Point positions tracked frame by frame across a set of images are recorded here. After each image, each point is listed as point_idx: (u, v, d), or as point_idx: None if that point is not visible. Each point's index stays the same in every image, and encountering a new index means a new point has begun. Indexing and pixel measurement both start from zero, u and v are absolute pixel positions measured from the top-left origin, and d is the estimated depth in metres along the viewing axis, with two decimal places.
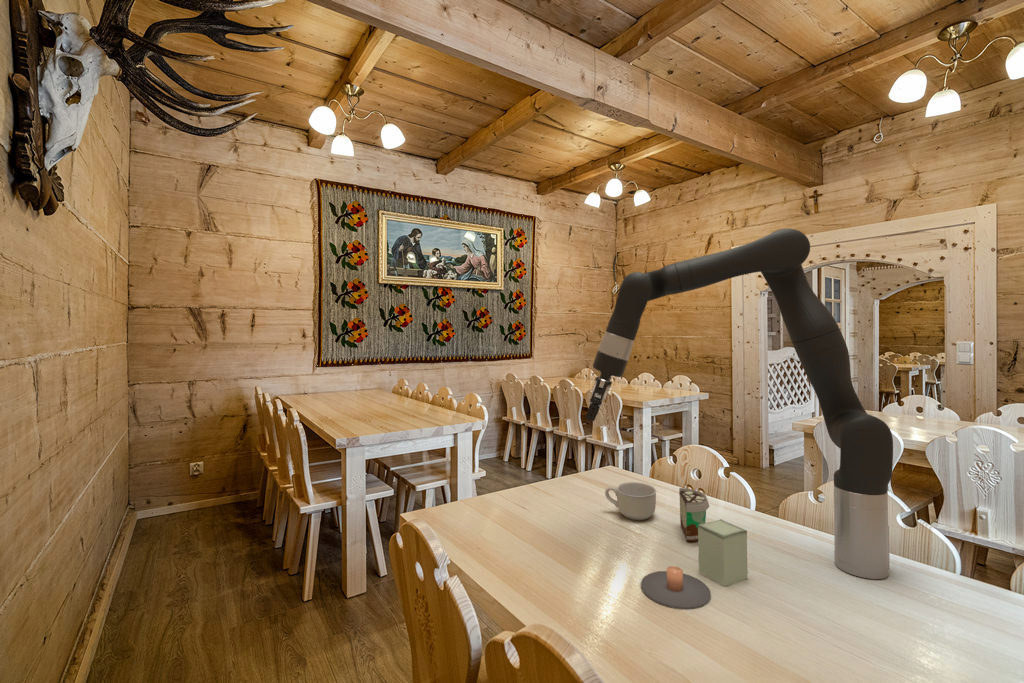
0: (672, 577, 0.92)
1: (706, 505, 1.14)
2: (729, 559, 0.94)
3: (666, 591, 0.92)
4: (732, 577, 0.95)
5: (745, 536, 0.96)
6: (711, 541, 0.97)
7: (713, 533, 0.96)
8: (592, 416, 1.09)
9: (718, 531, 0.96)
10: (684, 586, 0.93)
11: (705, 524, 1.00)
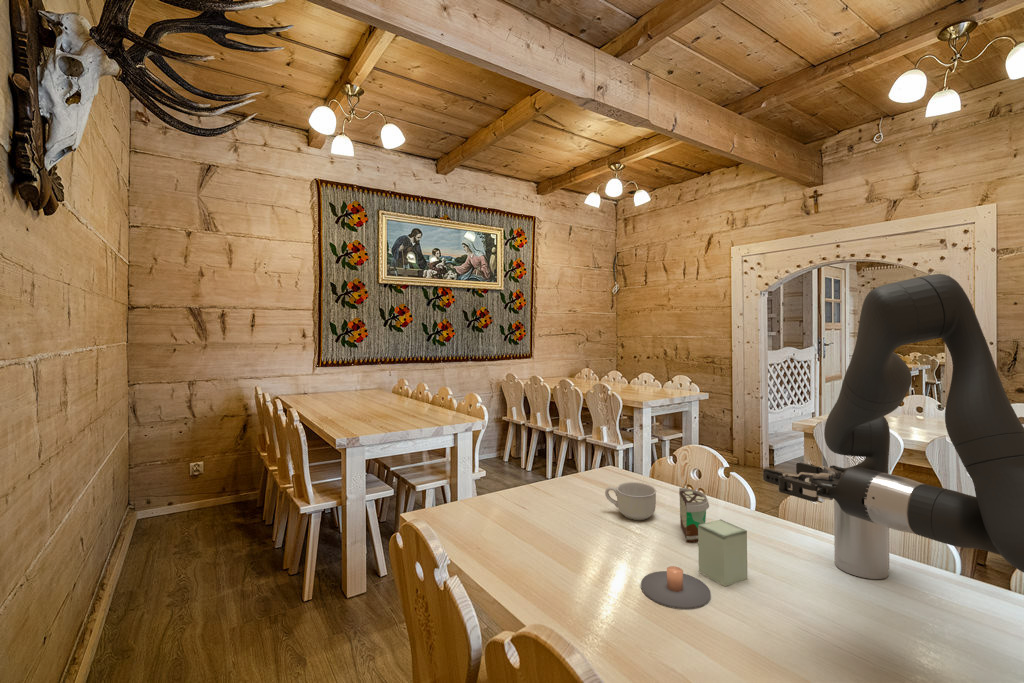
0: (672, 577, 0.92)
1: (706, 505, 1.14)
2: (729, 559, 0.94)
3: (666, 591, 0.92)
4: (732, 577, 0.95)
5: (745, 536, 0.96)
6: (711, 541, 0.97)
7: (713, 533, 0.96)
8: None
9: (718, 531, 0.96)
10: (684, 586, 0.93)
11: (705, 524, 1.00)
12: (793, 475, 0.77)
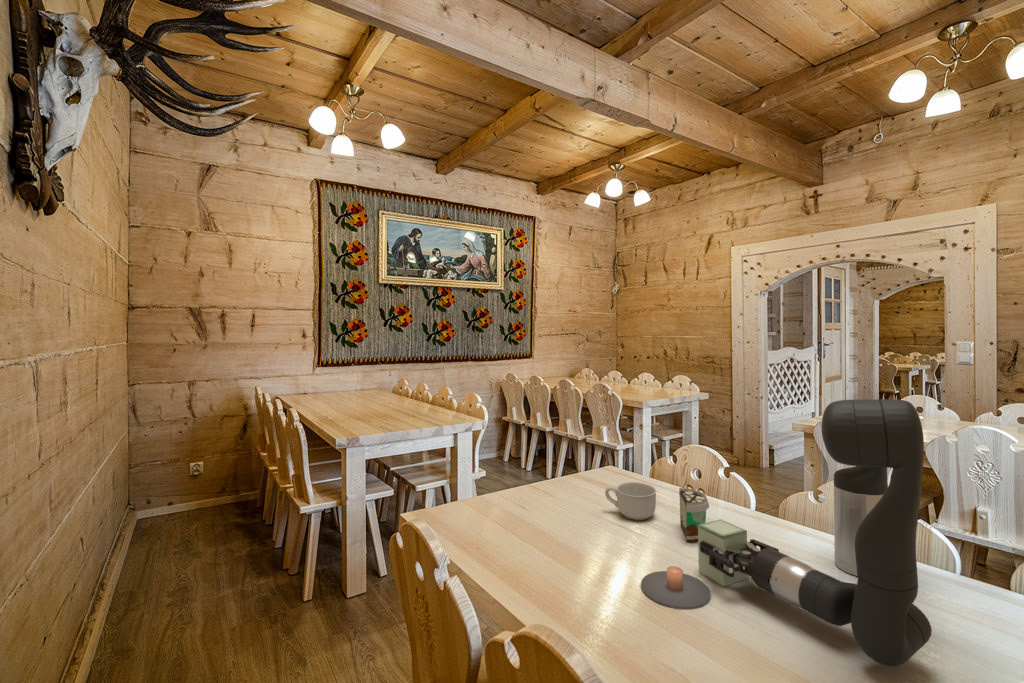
0: (672, 577, 0.92)
1: (706, 505, 1.14)
2: None
3: (666, 591, 0.92)
4: (732, 577, 0.95)
5: (745, 536, 0.96)
6: (711, 541, 0.97)
7: (713, 533, 0.96)
8: None
9: (718, 531, 0.96)
10: (684, 586, 0.93)
11: (705, 524, 1.00)
12: (721, 550, 0.94)
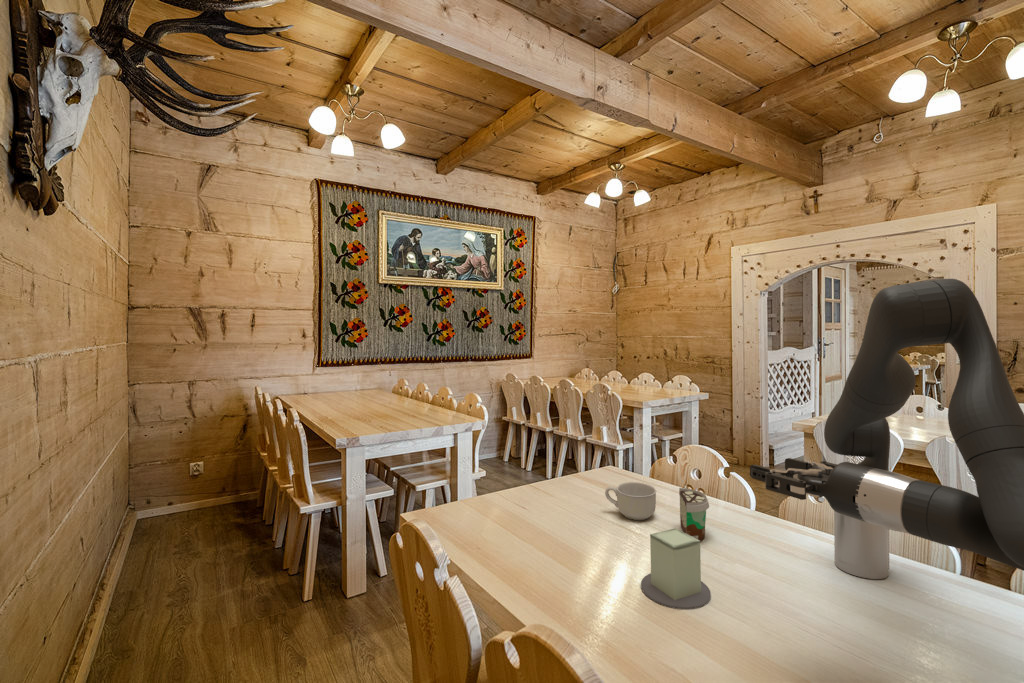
0: None
1: (706, 505, 1.14)
2: (680, 571, 0.89)
3: None
4: (684, 590, 0.89)
5: (698, 547, 0.91)
6: (662, 552, 0.91)
7: (664, 543, 0.91)
8: None
9: (670, 541, 0.91)
10: None
11: (658, 534, 0.95)
12: (781, 471, 0.73)
